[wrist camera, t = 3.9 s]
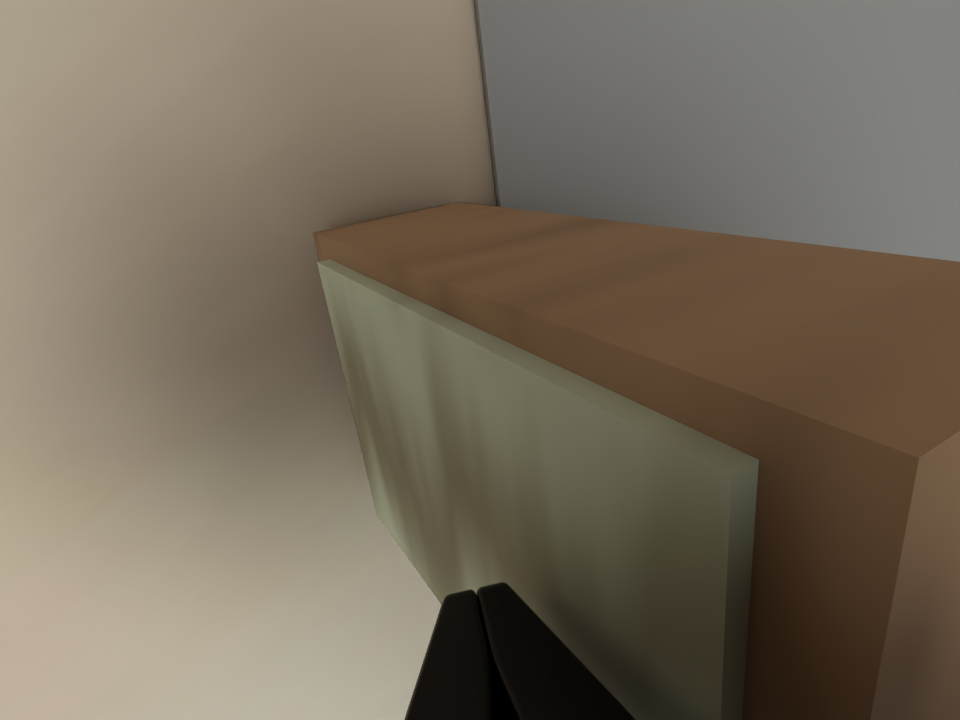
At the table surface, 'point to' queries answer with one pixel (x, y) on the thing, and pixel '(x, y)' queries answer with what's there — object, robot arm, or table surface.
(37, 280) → the table surface
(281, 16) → the table surface
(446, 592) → the brown green box
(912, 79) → the mat
